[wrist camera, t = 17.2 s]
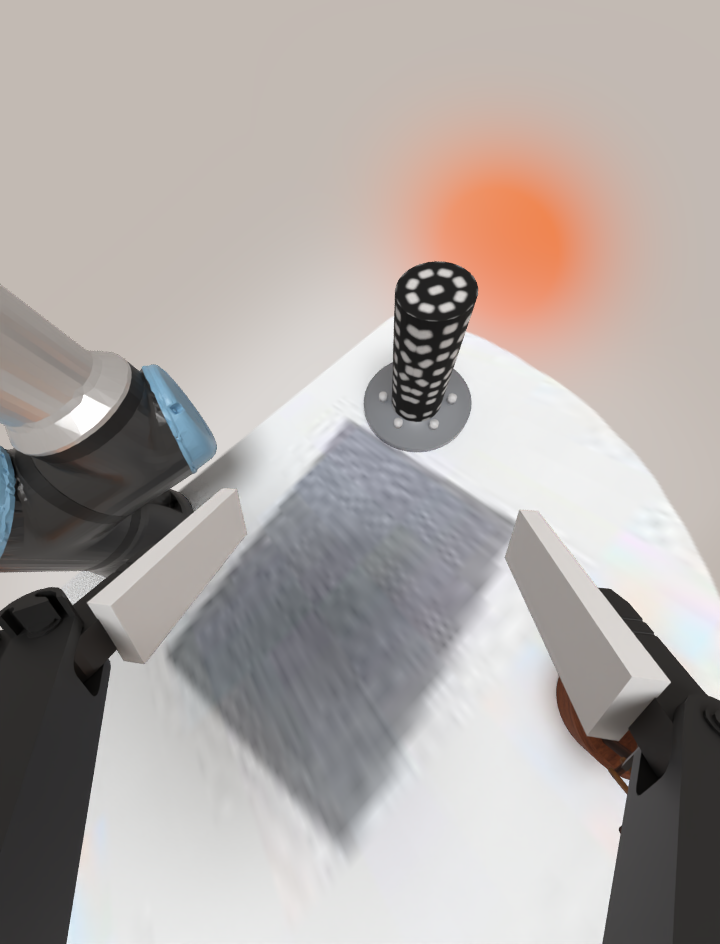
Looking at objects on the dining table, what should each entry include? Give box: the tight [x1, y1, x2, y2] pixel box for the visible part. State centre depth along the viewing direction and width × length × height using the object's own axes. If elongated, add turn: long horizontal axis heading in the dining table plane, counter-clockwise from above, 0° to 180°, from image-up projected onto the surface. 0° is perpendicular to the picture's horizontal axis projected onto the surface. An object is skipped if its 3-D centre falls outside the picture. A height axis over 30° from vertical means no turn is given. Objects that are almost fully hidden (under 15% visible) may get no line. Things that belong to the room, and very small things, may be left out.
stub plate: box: [364, 363, 471, 452], centre depth 47 cm, size 18×18×3 cm
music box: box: [557, 676, 639, 833], centre depth 24 cm, size 15×11×20 cm
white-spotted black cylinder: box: [392, 261, 478, 422], centre depth 38 cm, size 8×8×20 cm
